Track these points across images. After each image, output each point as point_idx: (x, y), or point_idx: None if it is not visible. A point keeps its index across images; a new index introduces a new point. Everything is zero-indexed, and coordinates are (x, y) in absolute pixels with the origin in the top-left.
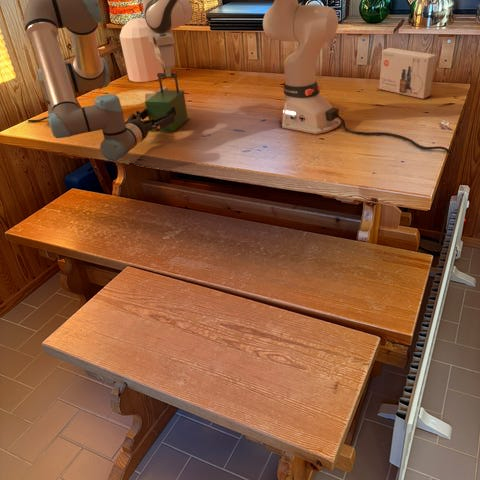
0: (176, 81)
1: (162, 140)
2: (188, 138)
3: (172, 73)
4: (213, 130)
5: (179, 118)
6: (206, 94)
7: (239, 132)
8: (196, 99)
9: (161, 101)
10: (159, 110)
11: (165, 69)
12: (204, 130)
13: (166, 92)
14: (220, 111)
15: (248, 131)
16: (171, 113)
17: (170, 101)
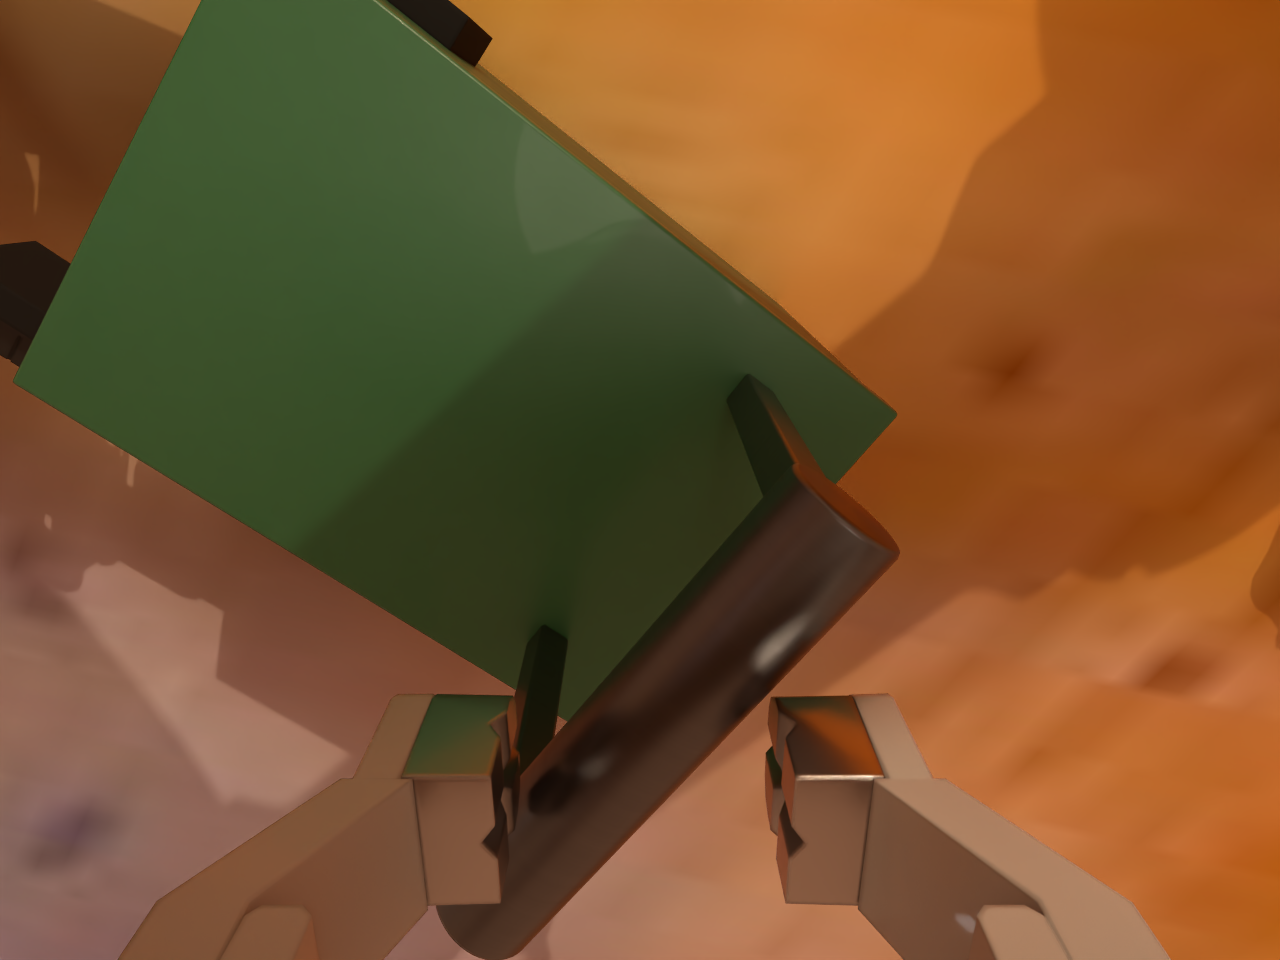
0: None
1: (35, 111)
2: (12, 406)
3: (512, 879)
4: (157, 667)
5: None
6: (1252, 857)
7: (31, 831)
8: (1179, 743)
9: (109, 265)
10: None
11: (225, 864)
12: (189, 597)
13: (666, 465)
14: (647, 839)
15: (32, 890)
16: (28, 347)
17: (94, 426)
